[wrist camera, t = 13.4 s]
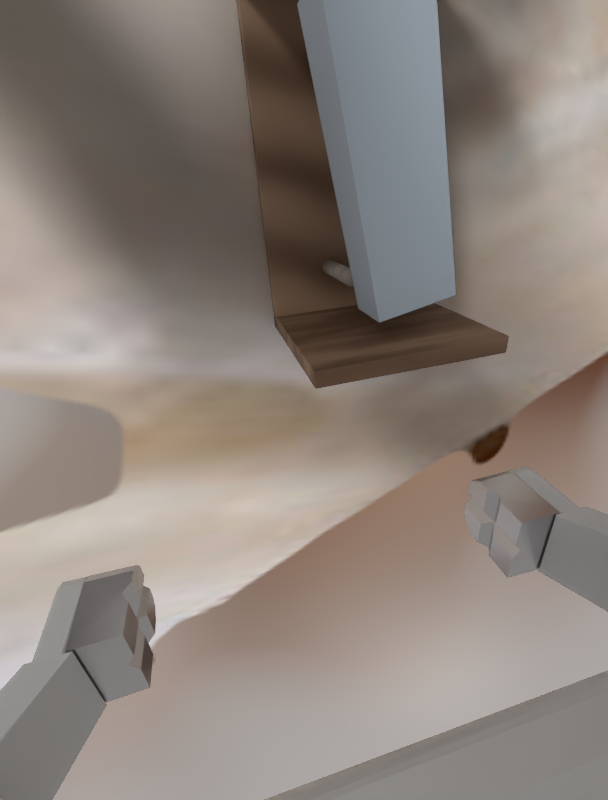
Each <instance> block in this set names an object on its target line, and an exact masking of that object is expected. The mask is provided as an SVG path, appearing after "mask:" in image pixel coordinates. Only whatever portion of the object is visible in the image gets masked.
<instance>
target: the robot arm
mask: <svg viewBox="0 0 608 800" xmlns="http://www.w3.org/2000/svg"><path fill="white" fill-rule="evenodd" d="M468 494H469V495H470V496H471V497H472V498H471V499H470V500H469V502H468V503H467V504H466V505H465V514H464V517H465V520H466V524H467V527H468V529H469V530H470V533H471V534H472V535H473V537H474V538H475V539H476V540H477V542H479V543H481V544H483V545H485V546H488V547H489V556H490V557H491V558H492V560H493V561H494V562H495V563H496V564H497V566H498V567H499V568H500V569H501V570H502V572H503V573H504V574H505V575H506V576H507V577H512V576H516V575H519V574H522V573H526V572H530V571H534V570H537V569H539V572H541V573H543V574H544V575H546V576H548V577H550V578H551V579H553V580H555V581H556V582H558V583H560V584H561V585H563V586H565V587H567V588H568V589H570V590H572V591H573V592H575V593H577V594H579V595H580V596H582V597H584V598H586V599H587V600H589V601H591V602H593V603H594V604H596V605H597V606H599V607H601V608H603V609H604V610H606V611H608V514H605V513H602V512H599V511H596V510H594V509H591V508H588V507H582V508H580V507H578V506H577V505H576V504H574V503H573V502H572V501H571V500H569V499H568V498H567V497H566V496H564V495H563V494H562V493H561V492H559V491H558V490H557V489H556V488H554V487H553V486H552V485H551V484H549V483H548V482H547V481H546V480H544V479H543V478H542V477H540V476H539V475H538V474H537V473H536V472H534V471H533V470H532V469H530V468H527V467H522V468H518V469H514V470H510V471H507V472H502V473H498V474H495V475H491V476H487V477H483V478H479V479H476V480H472V481H471V483H470V484H469V486H468ZM143 581H144V574H143V572H142V570H141V568H140V566H138V565H135V566H131V567H127V568H122V569H118V570H113V571H109V572H104V573H100V574H96V575H91V576H88V577H84V578H80V579H75V580H71V581H67V582H63V583H62V584H61V586H60V587H59V588H58V589H57V592H56V594H55V597H54V600H53V603H52V606H51V609H50V612H49V615H48V618H47V620H46V623H45V626H44V629H43V632H42V635H41V638H40V641H39V644H38V646H37V649H36V652H35V655H34V658H33V661H32V662H31V663H28V664H24V665H23V666H22V667H21V668H20V669H19V670H18V672H17V673H16V674H15V675H14V676H13V677H12V678H11V679H10V680H9V682H8V683H7V684H6V685H5V686H4V687H3V688H2V689H1V691H0V800H52V799H53V798H54V796H55V794H56V793H57V791H58V789H59V787H60V786H61V784H62V782H63V780H64V779H65V777H66V775H67V773H68V772H69V770H70V768H71V766H72V764H73V763H74V761H75V759H76V758H77V756H78V754H79V752H80V751H81V749H82V747H83V745H84V744H85V742H86V740H87V738H88V737H89V735H90V733H91V731H92V730H93V728H94V726H95V724H96V723H97V721H98V719H99V717H100V716H101V714H102V712H103V710H104V709H105V707H106V702H109V701H112V700H115V699H118V698H120V697H124V696H127V695H129V694H132V693H135V692H138V691H141V690H144V689H147V688H150V683H151V671H152V661H153V653H152V651H151V648H150V646H149V644H148V643H149V641H150V640H151V638H152V637H153V635H154V634H155V624H156V616H155V604H154V600H153V596H152V593H151V591H150V589H149V588H147V587H145V586H143ZM265 800H608V671H605V672H603V673H600V674H597V675H595V676H592V677H589V678H587V679H584V680H581V681H579V682H576V683H573V684H571V685H568V686H565V687H563V688H560V689H557V690H555V691H552V692H549V693H547V694H544V695H541V696H539V697H536V698H534V699H531V700H528V701H525V702H523V703H520V704H518V705H515V706H512V707H510V708H507V709H504V710H502V711H499V712H496V713H494V714H491V715H488V716H486V717H483V718H480V719H478V720H475V721H473V722H470V723H467V724H464V725H462V726H459V727H456V728H454V729H451V730H448V731H446V732H443V733H440V734H438V735H435V736H433V737H430V738H427V739H424V740H422V741H419V742H417V743H414V744H412V745H409V746H406V747H403V748H401V749H398V750H395V751H393V752H390V753H387V754H385V755H382V756H379V757H377V758H374V759H371V760H369V761H366V762H363V763H361V764H358V765H355V766H353V767H350V768H347V769H345V770H342V771H339V772H337V773H334V774H331V775H329V776H326V777H324V778H321V779H318V780H316V781H313V782H310V783H308V784H305V785H302V786H300V787H297V788H294V789H292V790H289V791H287V792H284V793H281V794H279V795H276V796H273V797H270V798H268V799H265Z"/></svg>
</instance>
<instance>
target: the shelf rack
mask: <svg viewBox="0 0 608 800" xmlns="http://www.w3.org/2000/svg"><path fill="white" fill-rule="evenodd" d="M236 1H237V9H238V18H239V26H240V35H241V43H242V51H243V60H244V68H245V76H246V85H247V93H248V102H249V110H250V118H251V127H252V135H253V143H254V152H255V160H256V169H257V177H258V185H259V194H260V202H261V210H262V219H263V227H264V236H265V244H266V252H267V261H268V269H269V277H270V286H271V294H272V303H273V311H274V319H275V326H276V328H277V329H278V331H279V333H280V334H281V336H282V337H283V339H284V340H285V342H286V343H287V345H288V346H289V348H290V350H291V351H292V353H293V354H294V356H295V357H296V359H297V360H298V362H299V364H300V365H301V367H302V368H303V370H304V371H305V373H306V374H307V376H308V377H309V379H310V381H311V382H312V384H313V385H314V387H315V388H321V387H327V386H332V385H337V384H342V383H348V382H353V381H358V380H363V379H369V378H374V377H379V376H384V375H390V374H395V373H400V372H406V371H411V370H416V369H421V368H427V367H432V366H437V365H442V364H448V363H453V362H458V361H463V360H469V359H474V358H479V357H484V356H490V355H495V354H500V353H505V352H506V349H507V343H508V338H509V336H507V335H505V334H503V333H500V332H498V331H496V330H493V329H491V328H489V327H487V326H484V325H482V324H480V323H478V322H475V321H473V320H471V319H469V318H466V317H464V316H462V315H460V314H457V313H455V312H453V311H451V310H448V309H446V308H444V307H442V306H439V305H437V304H435V303H432V304H430V305H427V306H424V307H421V308H419V309H416V310H413V311H410V312H408V313H405V314H402V315H399V316H396V317H394V318H391V319H388V320H385V321H383V322H380V323H379V322H377V321H376V320H374V319H373V318H372V317H370V316H369V315H367V314H366V313H364V312H363V311H361V310H360V309H358V305H357V300H356V295H355V290H354V285H353V280H352V275H351V270H350V265H349V260H348V255H347V250H346V245H345V240H344V235H343V230H342V225H341V220H340V215H339V210H338V205H337V200H336V195H335V190H334V185H333V180H332V175H331V170H330V165H329V160H328V155H327V150H326V145H325V140H324V135H323V130H322V125H321V120H320V115H319V110H318V105H317V100H316V95H315V90H314V86H313V81H312V76H311V71H310V66H309V61H308V56H307V51H306V46H305V41H304V36H303V31H302V26H301V21H300V16H299V11H298V6H297V4H298V2H299V0H236Z"/></svg>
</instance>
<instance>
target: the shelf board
mask: <svg viewBox="0 0 608 800" xmlns="http://www.w3.org/2000/svg"><path fill="white" fill-rule="evenodd" d="M297 6H298V11H299V16H300V21H301V26H302V31H303V36H304V41H305V46H306V51H307V56H308V61H309V66H310V71H311V76H312V81H313V86H314V90H315V95H316V100H317V105H318V110H319V115H320V120H321V125H322V130H323V135H324V140H325V145H326V150H327V155H328V160H329V165H330V170H331V175H332V180H333V185H334V190H335V195H336V200H337V205H338V210H339V215H340V220H341V225H342V230H343V235H344V240H345V245H346V250H347V255H348V260H349V265H350V270H351V275H352V280H353V285H354V290H355V295H356V300H357V305H358V309H360V310H361V311H363V312H364V313H366V314H367V315H369V316H370V317H372V318H373V319H374V320H376V321H377V322H379V323H380V322H383V321H385V320H388V319H391V318H394V317H396V316H399V315H402V314H405V313H408V312H410V311H413V310H416V309H419V308H421V307H424V306H427V305H430V304H432V303H435V302H438V301H441V300H444V299H446V298H449V297H452V296H455V295H456V286H455V270H454V255H453V240H452V224H451V209H450V193H449V178H448V163H447V147H446V132H445V116H444V101H443V85H442V70H441V55H440V39H439V24H438V8H437V0H299V2H298V4H297Z"/></svg>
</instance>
